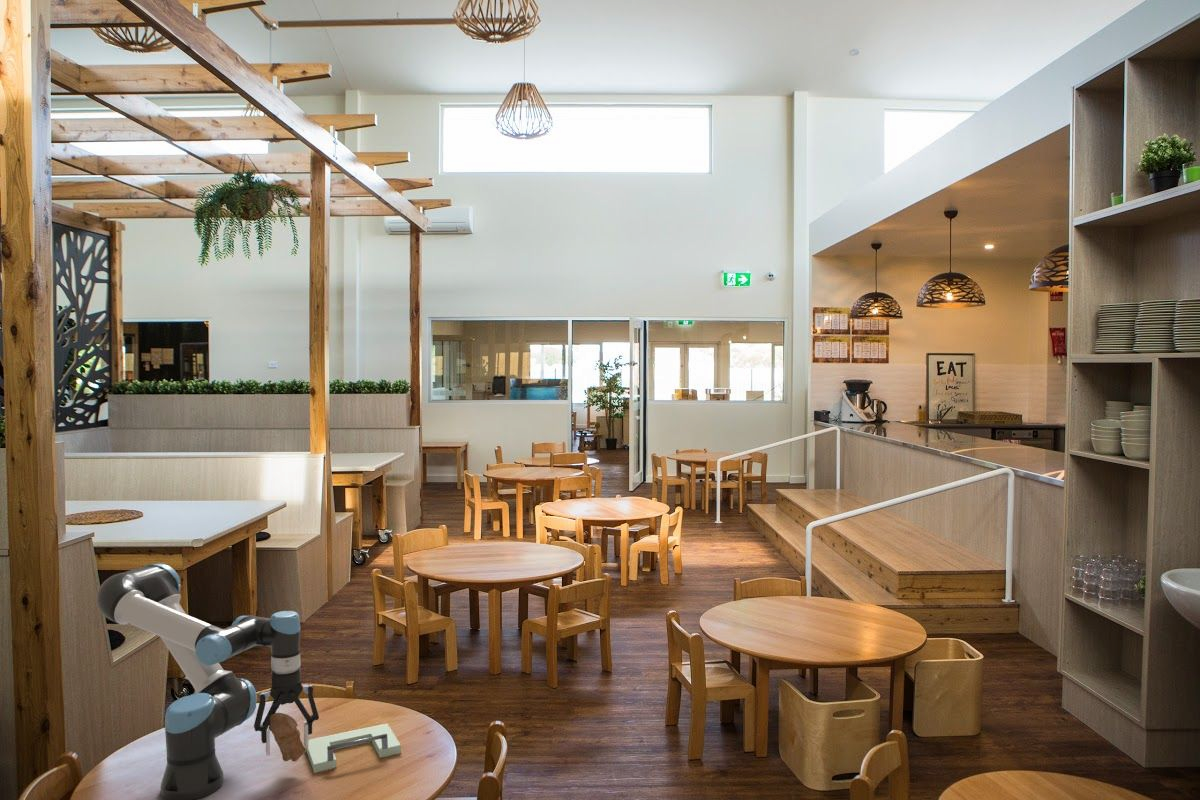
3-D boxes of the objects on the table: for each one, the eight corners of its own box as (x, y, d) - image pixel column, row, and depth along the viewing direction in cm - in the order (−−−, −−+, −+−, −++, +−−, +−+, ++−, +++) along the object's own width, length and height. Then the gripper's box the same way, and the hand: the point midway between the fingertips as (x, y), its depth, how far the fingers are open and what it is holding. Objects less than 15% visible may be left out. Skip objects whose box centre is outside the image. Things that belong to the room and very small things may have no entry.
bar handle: (328, 761, 232) (327, 747, 232) (327, 759, 234) (327, 745, 233) (387, 748, 240) (387, 734, 240) (386, 746, 241) (386, 732, 241)
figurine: (307, 755, 234) (307, 702, 233) (294, 769, 226) (293, 714, 225) (278, 753, 235) (278, 700, 234) (264, 767, 227) (263, 712, 226)
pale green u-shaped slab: (314, 772, 231) (313, 764, 231) (305, 748, 246) (305, 740, 246) (401, 753, 242) (400, 744, 242) (387, 730, 257) (387, 723, 257)
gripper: (243, 680, 221) (245, 764, 222) (329, 667, 231) (330, 747, 232) (241, 671, 228) (242, 752, 229) (325, 658, 238) (326, 736, 239)
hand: (287, 749), depth 230 cm, fingers closed on figurine, 9 cm apart
